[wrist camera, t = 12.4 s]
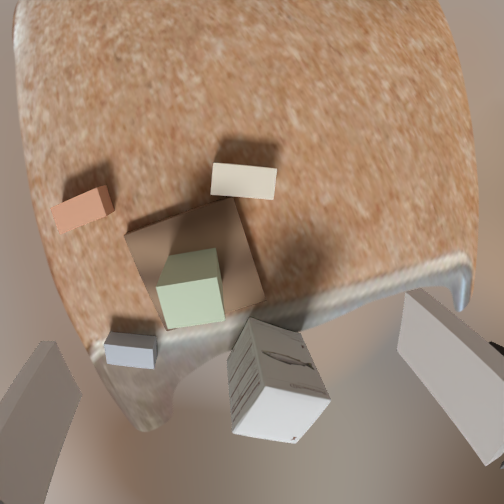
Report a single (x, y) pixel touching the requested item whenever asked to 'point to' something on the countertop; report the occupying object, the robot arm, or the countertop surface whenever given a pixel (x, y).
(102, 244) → the countertop surface
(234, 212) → the walnut board
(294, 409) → the supplement box
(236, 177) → the cream brick
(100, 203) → the terracotta brick
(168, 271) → the sage brick
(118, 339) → the slate brick
